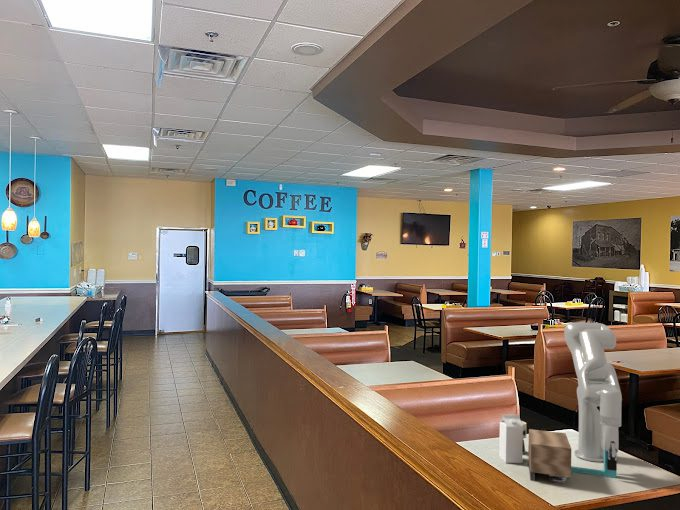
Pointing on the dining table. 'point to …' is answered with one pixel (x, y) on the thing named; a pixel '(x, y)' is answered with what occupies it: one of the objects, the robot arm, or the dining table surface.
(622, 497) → the dining table surface
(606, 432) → the robot arm
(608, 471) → the scraper
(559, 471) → the cabinet
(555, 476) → the grey flat disc
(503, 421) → the milk carton
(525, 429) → the character mug
